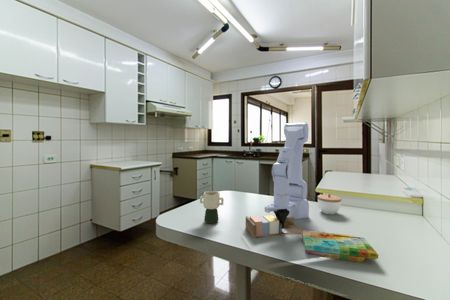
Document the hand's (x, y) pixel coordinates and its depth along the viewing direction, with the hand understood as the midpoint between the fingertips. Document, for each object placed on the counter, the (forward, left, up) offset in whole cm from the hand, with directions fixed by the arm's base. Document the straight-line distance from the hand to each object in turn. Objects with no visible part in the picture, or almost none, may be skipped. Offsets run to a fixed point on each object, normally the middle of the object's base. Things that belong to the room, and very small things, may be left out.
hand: (280, 227), depth 85 cm
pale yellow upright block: (+4, -1, -1) cm, 4 cm away
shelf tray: (+2, -1, -2) cm, 3 cm away
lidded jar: (-35, -17, -2) cm, 39 cm away
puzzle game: (-11, +17, -3) cm, 20 cm away
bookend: (0, 0, -1) cm, 1 cm away
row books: (+9, 0, -1) cm, 9 cm away
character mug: (+25, -17, -2) cm, 30 cm away
